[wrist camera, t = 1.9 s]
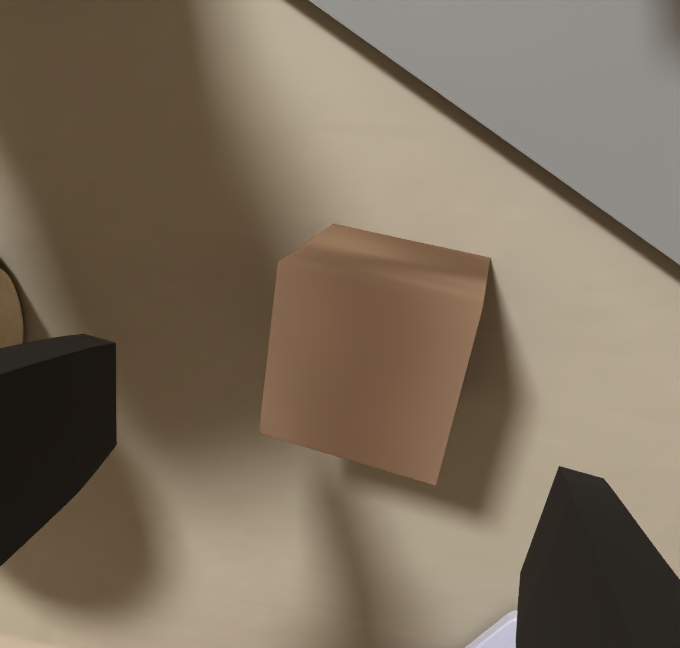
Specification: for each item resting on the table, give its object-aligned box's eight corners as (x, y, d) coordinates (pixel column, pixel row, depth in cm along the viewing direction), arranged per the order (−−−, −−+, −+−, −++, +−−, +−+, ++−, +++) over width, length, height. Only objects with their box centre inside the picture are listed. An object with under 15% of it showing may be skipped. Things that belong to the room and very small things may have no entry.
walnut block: (490, 257, 14) (482, 309, 11) (454, 398, 16) (435, 485, 12) (334, 223, 15) (278, 262, 11) (314, 361, 17) (258, 432, 13)
